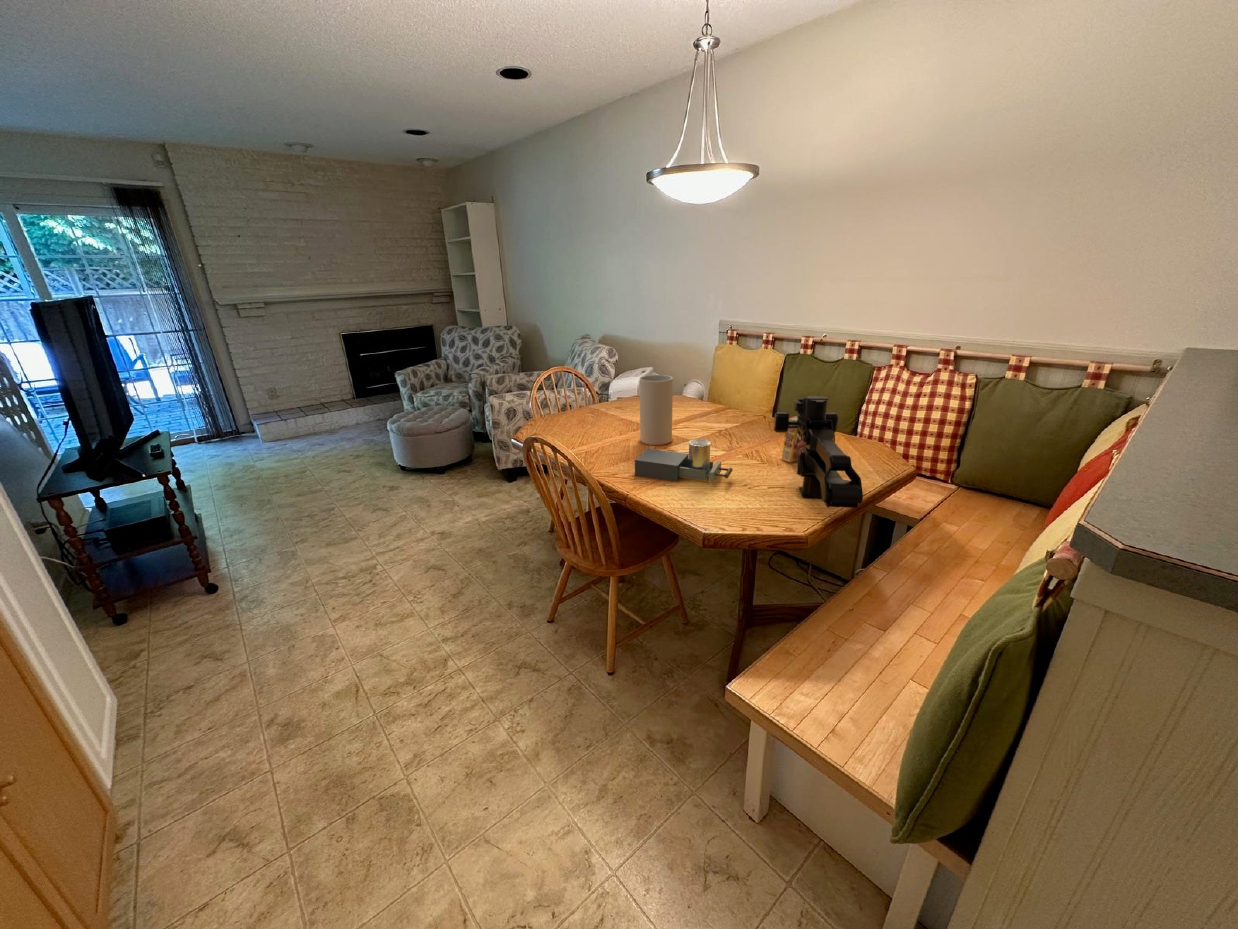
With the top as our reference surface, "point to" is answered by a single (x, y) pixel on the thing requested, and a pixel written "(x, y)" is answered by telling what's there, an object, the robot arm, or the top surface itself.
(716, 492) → the top surface
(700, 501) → the top surface
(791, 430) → the candy box
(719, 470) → the drawer
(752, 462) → the top surface
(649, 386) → the cylinder vase
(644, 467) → the cabinet
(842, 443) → the top surface
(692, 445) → the metal can
